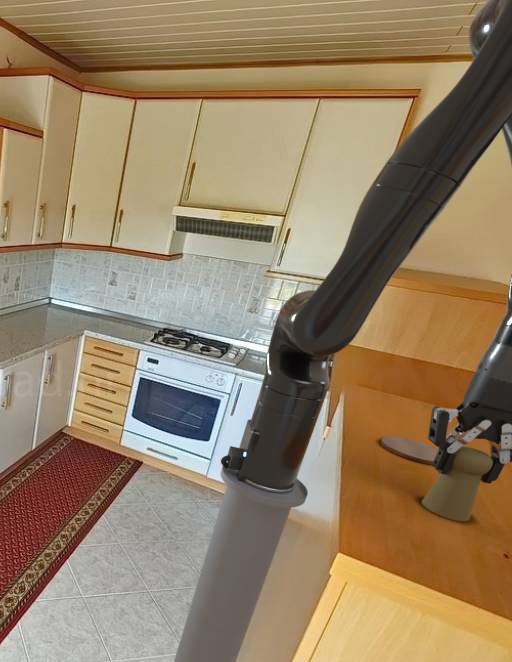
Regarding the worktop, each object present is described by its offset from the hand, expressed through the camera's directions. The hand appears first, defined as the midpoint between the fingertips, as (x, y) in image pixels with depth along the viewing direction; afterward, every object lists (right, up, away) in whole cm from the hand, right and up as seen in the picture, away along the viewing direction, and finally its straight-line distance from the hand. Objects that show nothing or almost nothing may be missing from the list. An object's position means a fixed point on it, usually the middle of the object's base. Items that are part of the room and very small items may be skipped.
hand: (461, 475), depth 77 cm
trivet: (+12, +1, +23) cm, 26 cm away
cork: (-1, -6, +2) cm, 7 cm away
